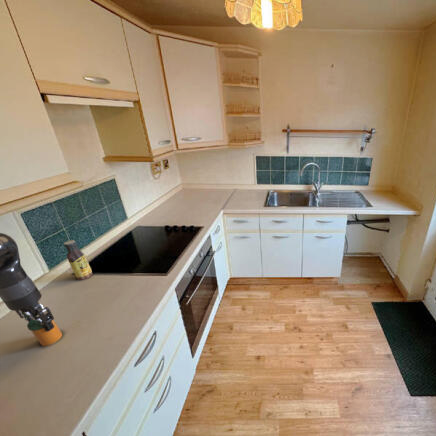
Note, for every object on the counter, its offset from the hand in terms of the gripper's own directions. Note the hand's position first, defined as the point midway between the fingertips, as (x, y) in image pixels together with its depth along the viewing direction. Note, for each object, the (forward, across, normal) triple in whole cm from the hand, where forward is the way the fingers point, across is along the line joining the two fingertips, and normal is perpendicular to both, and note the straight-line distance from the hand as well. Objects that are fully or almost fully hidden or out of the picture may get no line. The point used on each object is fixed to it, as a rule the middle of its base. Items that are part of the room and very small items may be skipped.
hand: (43, 327), depth 81 cm
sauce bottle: (+6, -24, +30) cm, 39 cm away
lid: (-3, 0, 0) cm, 3 cm away
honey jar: (+6, 0, 0) cm, 6 cm away
